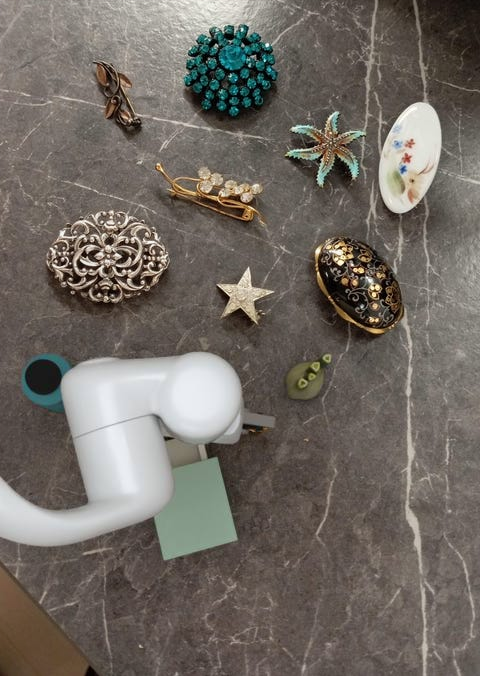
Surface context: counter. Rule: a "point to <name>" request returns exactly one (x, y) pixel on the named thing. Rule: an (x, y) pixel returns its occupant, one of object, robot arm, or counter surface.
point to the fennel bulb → (306, 378)
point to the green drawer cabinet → (196, 511)
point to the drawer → (184, 453)
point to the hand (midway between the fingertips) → (194, 417)
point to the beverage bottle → (45, 381)
